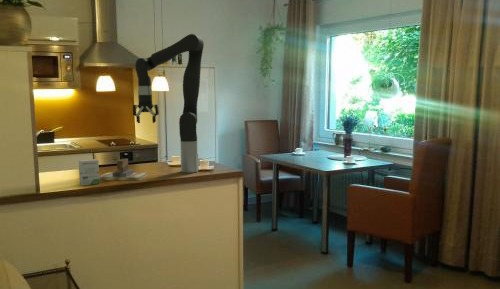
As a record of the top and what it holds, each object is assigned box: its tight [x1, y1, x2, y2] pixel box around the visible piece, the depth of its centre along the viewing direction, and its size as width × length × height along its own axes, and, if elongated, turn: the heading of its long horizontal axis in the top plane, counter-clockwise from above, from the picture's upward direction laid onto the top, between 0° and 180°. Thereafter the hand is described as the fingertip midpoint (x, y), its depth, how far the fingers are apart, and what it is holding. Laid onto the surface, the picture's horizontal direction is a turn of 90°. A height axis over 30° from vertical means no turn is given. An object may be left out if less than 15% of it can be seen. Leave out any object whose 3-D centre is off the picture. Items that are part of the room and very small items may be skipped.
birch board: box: [99, 172, 148, 181], centre depth 234 cm, size 22×13×2 cm, turn 86°
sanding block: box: [112, 158, 134, 177], centre depth 233 cm, size 7×11×8 cm, turn 176°
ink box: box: [78, 159, 100, 186], centre depth 218 cm, size 8×5×12 cm, turn 119°
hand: (146, 122), depth 255 cm, fingers open, 8 cm apart
